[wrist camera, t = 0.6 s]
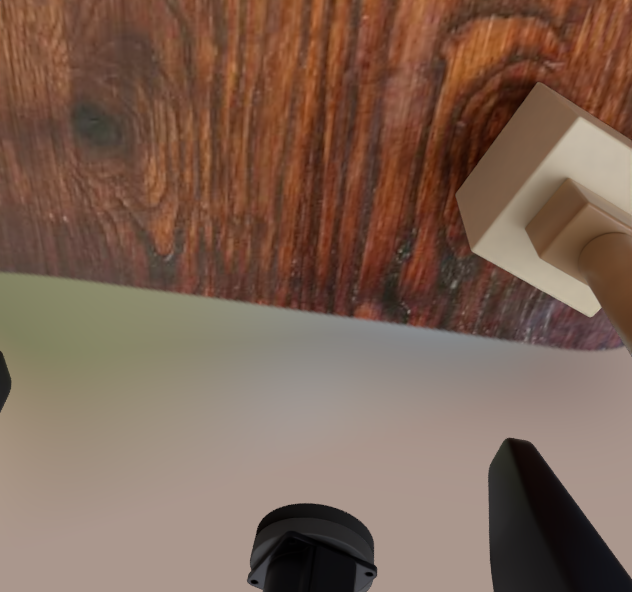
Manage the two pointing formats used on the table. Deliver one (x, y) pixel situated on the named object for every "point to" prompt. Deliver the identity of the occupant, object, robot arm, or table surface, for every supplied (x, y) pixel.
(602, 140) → the stick stand
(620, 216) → the stirring stick
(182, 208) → the table surface
